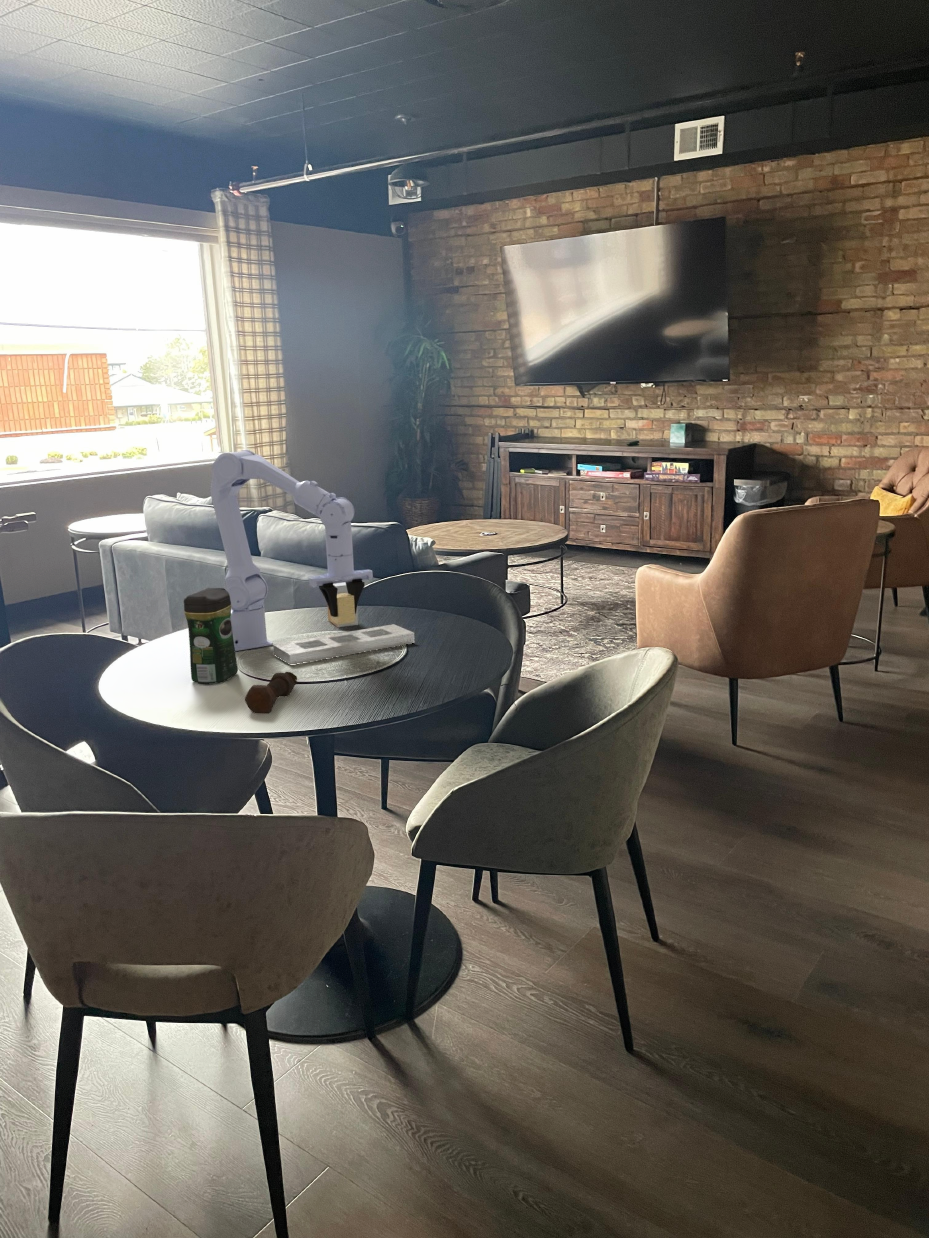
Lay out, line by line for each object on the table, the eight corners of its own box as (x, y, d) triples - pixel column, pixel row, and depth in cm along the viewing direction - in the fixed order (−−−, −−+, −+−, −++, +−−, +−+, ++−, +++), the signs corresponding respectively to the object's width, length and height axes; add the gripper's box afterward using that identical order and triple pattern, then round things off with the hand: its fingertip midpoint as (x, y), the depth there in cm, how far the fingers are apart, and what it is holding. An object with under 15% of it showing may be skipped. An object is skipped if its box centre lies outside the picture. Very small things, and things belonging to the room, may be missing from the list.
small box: (327, 621, 232) (325, 580, 230) (349, 618, 235) (346, 578, 232) (337, 627, 225) (334, 586, 223) (359, 625, 227) (356, 583, 225)
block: (338, 624, 202) (337, 598, 200) (331, 621, 205) (329, 595, 204) (355, 621, 204) (353, 595, 202) (347, 618, 207) (346, 592, 206)
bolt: (295, 697, 180) (263, 721, 165) (273, 684, 180) (240, 706, 166) (307, 672, 178) (277, 694, 164) (285, 659, 179) (253, 680, 164)
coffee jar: (209, 670, 192) (201, 584, 188) (243, 672, 190) (236, 585, 186) (184, 684, 183) (175, 594, 179) (220, 687, 181) (211, 595, 177)
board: (290, 666, 194) (289, 654, 193) (273, 655, 202) (273, 644, 202) (414, 643, 209) (414, 632, 209) (394, 634, 217) (393, 624, 217)
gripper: (316, 560, 194) (320, 622, 197) (377, 553, 201) (380, 613, 204) (303, 556, 199) (307, 616, 203) (363, 549, 207) (366, 607, 210)
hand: (343, 614), depth 204 cm, fingers closed on block, 4 cm apart
